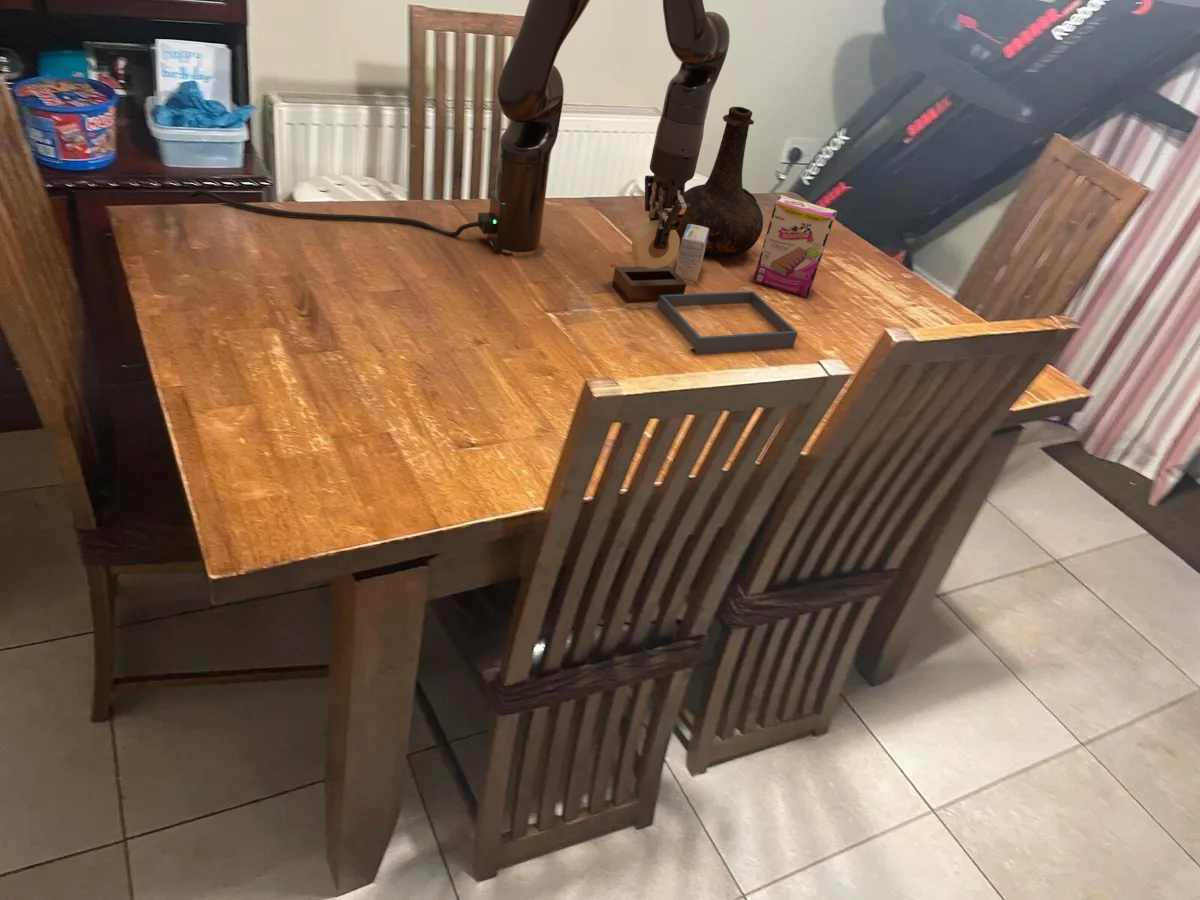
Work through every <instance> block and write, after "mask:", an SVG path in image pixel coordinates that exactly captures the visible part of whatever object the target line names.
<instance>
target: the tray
mask: <svg viewBox="0 0 1200 900" xmlns="http://www.w3.org/2000/svg"><path fill="white" fill-rule="evenodd" d="M732 304H750V305H751V306H752V307H753V308H754V309H756V311H757V312H759V313H760V314H761V315H762V316H763V318H765V319H766V321H768V322H769V323H770V324H771V325H772V326H773V327H774V328H775V329H776V330H777V331H772V332H758V333H757V332H756V333H754V332H753V333H741V334H739V333H737V334H725V335H709V336H707V335H706V336H700V335H699V333H698V332H697V331H696V330H695V329H694V328H693V327H692V326H691V324H689V322H688V321H687V320H686V319H685V318H684V317H683V316H682V314H680V313H679V311H678V310H677V309H676V307H691V306H694V307H695V306H710V305H711V306H712V305H713V306H714V305H732ZM657 307H658V309H660V311H661V312H662V313H663V314H664V315H665V317H666V318H668V320H669V321H670V322H671V323H672V324H673V325H674V327H675V328H676V329H677V330H678V331H679V332H680V333H681V335H683V337H684V338H685V339H686V340H687V341H688V342H689V343H690V345H692V347H693V348H690V350H691V352H692V353H693V354H694V355H697V356H698V355H711V354H722V353H723V354H724V353H738V352H739V353H740V352H752V351H766V350H767V351H768V350H780V349H781V350H782V349H793V348H794V345H795V343H796V340H797V337H798V333H799V332H798V331H797V330H796V329H795V328H794V327H793V326H791V324H789V323H788V322H787V321H786V320H785V319H784V318H783V317H782V316H781V315H780V314H779V313H778V312H776V310H774V309H773V308H772V307H771V306H770V305H769V304H768V303H767V302H766V301H765V300H764V299H763V298H761V296H760V295H759V294H757V293H756V292H755V291H754V290H749V291H725V292H701V293H684V294H674V295H660V296H659V300H658V302H657Z"/></svg>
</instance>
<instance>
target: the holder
mask: <svg viewBox="0 0 1200 900" xmlns="http://www.w3.org/2000/svg"><path fill="white" fill-rule="evenodd" d="M613 271H614V272H613V277H612V280H611V281H610V280H609V281H607V283H608V285H609V286H610V287H611V288H612V289H613V291H614V292H615V293H616V294H617V295H618V296H619V298H620V299H621V300H622V301H623V303H624V304H642V303H643V304H645V303H647V304H649V303H658V300H659V296H660V295H674V294H686V287H687V283H686V282H685V281H684V279H683V278H680V277H679V276H678V275H677V274H676V273H675V270H674V269H673V268H672V267H671V266H670V265H665V266H663V267H661V268H657V269H651V268H647V267H645V266H616V267H614V270H613Z"/></svg>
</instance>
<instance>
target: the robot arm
mask: <svg viewBox="0 0 1200 900" xmlns="http://www.w3.org/2000/svg"><path fill="white" fill-rule="evenodd" d="M590 1H591V0H528V3H527V6H526V10H525V12H524V16H523V19H522V23H521V26H520V28H519V31H518V34H517V36H516V39H515V41H514V43H513V44H512V45H513V46H512V48H511V50H510V52H509V55H508V57H507V59H506V61H505V63H504V65H503V68H502V70H501V72H500V75H499V78H498V81H497V84H496V99H497V104H498V106H499V109H500V111H501V113H502V114H503V115H504V116H505V118H507V119H508V120H509V124H508V126H507V127H506V129H505V130H504V131H503V133H502V134H501V136H500V138H499V143H498V155H497V165H496V175H495V185H494V187H495V188H494V190H492V191H491V192H490V201H489V212H477V213H478V215H477V221H475V222H474V221H473V222H469V223H465V224H462V225H460V226H459V227H458V228H457V229H456V231H446V230H442V229H440V228H438V227H435V226H434V225H431V224H429V223H427V222H424V221H420V220H417V219H414V218H413V219H412V218H407V217H406V218H405V217H397V216H385V215H384V216H382V215H380V216H379V215H366V214H365V215H364V214H362V215H361V214H337V213H336V214H335V213H316V212H315V213H314V212H301V211H291V210H283V209H275V208H268V207H262V206H257V205H253V204H249V203H244V202H241V201H235V200H232V199H228V198H225V197H223V196H220V195H218V194H216V193H214V192H213V191H210V190H206V189H196V190H194V191H192V192H191V193H190V194H189V195H188V196H189V197H190V198H195V197H196V196H199V195H205V196H208V197H210V198H212V199H214V200H216V201H219V202H220V203H223V204H226V205H229V206H235V207H238V208H243V209H247V210H251V211H256V212H260V213H266V214H272V215H277V216H286V217H296V218H297V217H298V218H310V219H325V220H326V219H327V220H353V221H354V220H356V221H374V222H375V221H376V222H392V223H393V222H394V223H403V224H404V223H405V224H410V225H416V226H420V227H422V228H425V229H428V230H429V231H433V232H434V233H435V232H436V233H438V234H440V235H444V236H446V237H453V238H454V237H458V236H459V235H461V233H462V232H463V231H465V230H466V229H470V228H476V227H478V228H479V229H480V231H481V232H482V234H483V235H486V240H487V242H488V244H489V245H490V247H491V248H492V250H493V251H494V252H495V253H496V254H505V255H509V256H513V253H530V252H533V251H536V250H537V249H538V248H539V247H540V244H541V236H542V227H543V219H544V212H545V203H546V197H547V196H546V194H547V187H548V180H549V179H548V178H549V171H550V164H551V163H550V162H551V156H552V151H553V149H554V146H555V144H556V142H557V140H558V139H557V138H558V135H559V129H560V124H561V118H562V111H563V110H562V109H563V105H564V98H565V97H564V96H565V88H564V81H563V78H562V75H561V72H560V71H559V69H558V68H557V66H556V65H555V62H556V59H557V56H558V53H559V51H560V49H561V48H562V45H563V43H564V42H565V40H566V39H567V37H568V36H569V34H570V33H571V31H572V30H573V28H574V27H575V25H576V24H577V22H578V21H579V20H580V18H581V17H582V15H583V13H584V12H585V10H586V8H587V7H588V5H589V3H590ZM662 11H663V19H664V27H665V32H666V38H667V42H668V45H669V47H670V49H671V52H672V53H673V55H674V56H675V57H676V59H677V60H678V61H679V62H680V66H679V70H678V71H677V73H676V74H675V75H674V76H673V77H672V78H671V79H670V80H669V83H668V85H667V88H666V92H665V97H664V100H663V106H662V111H661V116H660V119H659V121H658V125H657V128H656V131H655V138H654V141H653V148H652V152H651V157H650V162H649V170H650V172H651V173H652V174H653V175H645V176H644V211H645V212H648V213H647V214H648V215H647V216H648V217H647V218H648V219H649V222H650V221H653V220H659V224H658V228H657V232H656V237H655V242H654V247H655V248H656V249H666V247H667V244H668V239H669V235H670V231H671V230H675V231H676V230H679V228H680V226H681V225H682V223H683V221H684V220H685V218H686V216H687V214H688V213H689V211H690V209H691V205H690V204H689V203H685V201H684V199H683V197H684V194H685V192H686V183H687V182H689V181H690V180H692V179H693V178H694V177H695V174H696V168H697V164H698V161H699V155H700V152H701V148H702V143H703V138H704V133H705V132H704V131H705V125H706V124H705V123H706V118H707V113H708V110H709V105H710V101H711V96H712V92H713V90H714V88H715V85H716V83H717V81H718V79H719V76H720V74H721V71H722V69H723V67H724V64H725V60H726V58H727V55H728V51H729V47H730V40H731V39H730V38H731V37H730V28H729V25H728V23H727V21H726V19H725V18H724V17H723V16H722V15H721V14H720V13H718V12H716V11H706V9H705V4H704V0H662ZM666 217H667V218H666Z"/></svg>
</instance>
